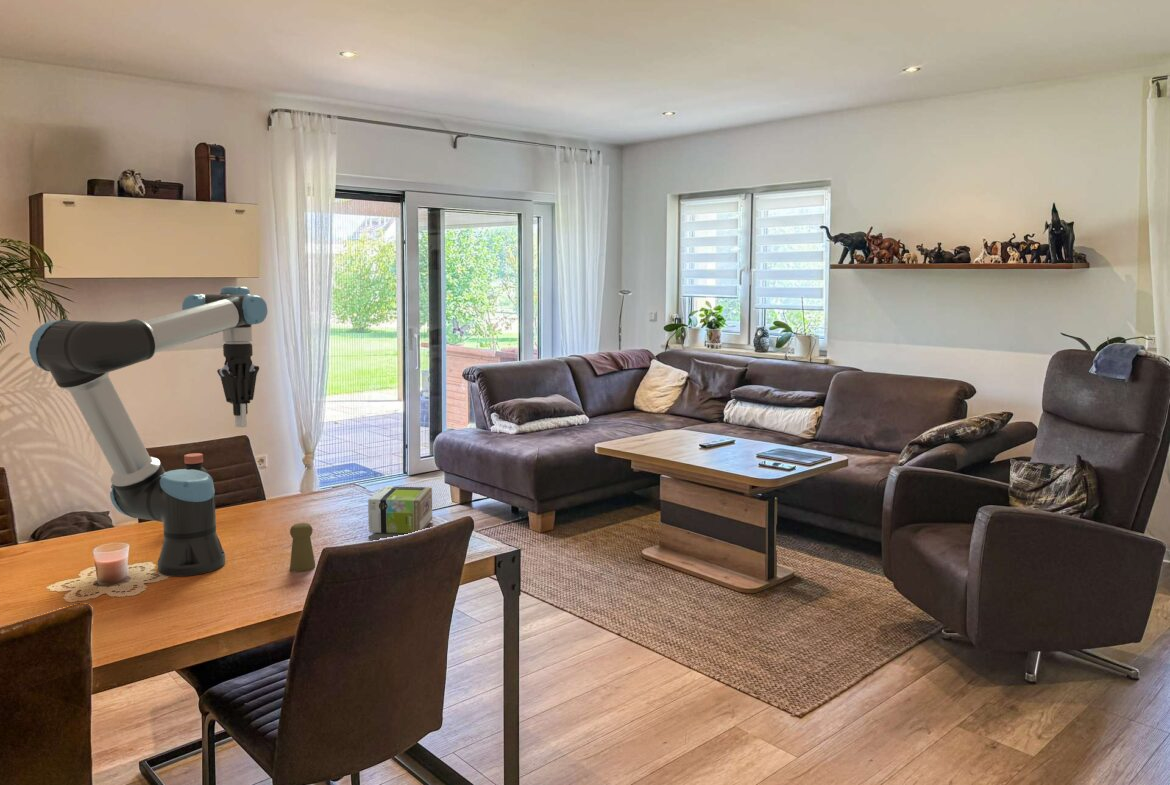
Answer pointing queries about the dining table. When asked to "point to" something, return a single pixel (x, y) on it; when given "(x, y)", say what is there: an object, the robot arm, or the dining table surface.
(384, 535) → the mat
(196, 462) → the bottle
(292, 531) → the olive green pawn
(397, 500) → the tea box
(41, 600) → the dining table surface
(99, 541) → the dining table surface
